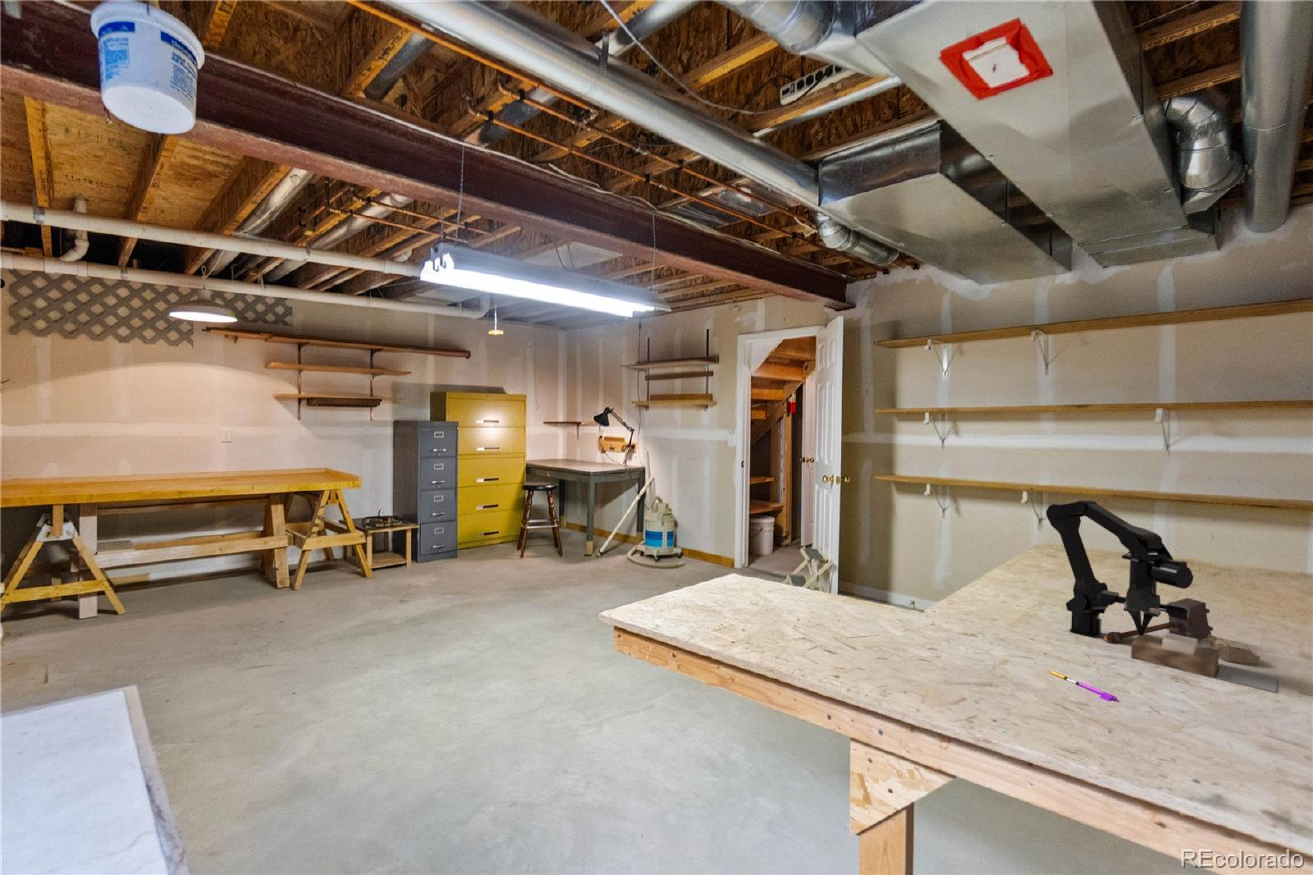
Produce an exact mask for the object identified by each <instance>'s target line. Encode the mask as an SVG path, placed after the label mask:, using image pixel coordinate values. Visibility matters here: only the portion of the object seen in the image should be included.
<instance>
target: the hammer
mask: <svg viewBox="0 0 1313 875" xmlns="http://www.w3.org/2000/svg"><path fill="white" fill-rule="evenodd" d="M1173 602H1174V603H1179V604H1185V605H1187V606H1188V607H1189V608H1190V614H1189V617H1188V619H1179V618H1174V617H1170V616H1169V615H1168V614H1167V612H1165V613H1166V614H1167V616H1168V620H1169V621H1168V622H1165V623H1161V624H1155V625H1152V626H1148V627H1147V629H1146V631H1145V633H1144V634H1149V633H1154V632H1158V631H1162V630H1168V633H1170V634H1175V635H1180V636H1185V637H1189V638H1194V639H1198V641H1201V640H1204V639H1207V637H1208V634H1211V635H1213V634H1212V631H1214V627H1213V626H1210V625H1209V621H1208V614H1209V613H1210V612H1211V611H1210V610H1211V609H1210V608H1207V604H1206V602H1204V601H1200V600H1197V599H1194V598H1193V599H1192V598H1190V597H1186V598H1183V599H1179V600H1176V601H1174V600H1173ZM1169 603H1170V602H1168V603H1166V604H1165V605H1168V604H1169ZM1138 635H1139V634H1138V631H1137V629H1134V630H1128V631H1124V632H1119V631H1110V632H1108V634H1106V635H1104V636H1103V641H1104V642H1113V643H1118V642H1120V641H1123V640H1124V639H1126V638H1131V637H1135V636H1136V637H1137V636H1138Z"/></svg>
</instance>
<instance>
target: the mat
mask: <svg viewBox="0 0 1313 875" xmlns="http://www.w3.org/2000/svg"><path fill="white" fill-rule="evenodd" d="M1216 679H1217V680H1221V681H1225V682H1229V683H1234V684H1238V685H1242V686H1245V687H1251V688H1254V689H1259V690H1262V691H1267V692H1270V693H1275V694H1276V693H1277V688H1278V686H1277V685H1278V677H1277V676H1273V675H1270V674H1269V675H1268V674H1264V673H1260V672H1254V671H1251V670H1246V669H1243V668H1238V667H1235V666H1234V667H1233V666H1230V665H1225V664H1220V667H1219V669H1218V673H1217V675H1216Z"/></svg>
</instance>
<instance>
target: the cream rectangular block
mask: <svg viewBox="0 0 1313 875" xmlns="http://www.w3.org/2000/svg"><path fill="white" fill-rule="evenodd" d="M1163 638H1164V639H1163V641H1162V648H1163V649H1167V650H1171V651H1176V652H1180V653H1185V654H1189V655H1194V653H1195V651H1196V649H1197V645H1198V639H1194V638H1189V637H1185V636H1180V635H1175V634H1170V633H1169V632H1167V633H1166V635H1165V636H1164V637H1163Z"/></svg>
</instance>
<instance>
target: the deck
mask: <svg viewBox="0 0 1313 875" xmlns="http://www.w3.org/2000/svg"><path fill="white" fill-rule="evenodd" d="M1164 638H1165V637H1161V636H1157V635H1151V634H1149V633H1146V634H1144V635H1143V636H1140V635H1137V636H1136V637H1135V639H1134V640H1133V641H1132V642H1131V649H1130V650H1131V655H1130V659H1134V660H1139V661H1142V662H1146V663H1151V664H1154V665H1158V666H1164V667H1166V668H1167V667H1168V668H1172V669H1176V670H1180V671H1185V672H1189V673H1191V674H1196V675H1200V676H1204V677H1208V678H1213V679H1214V678H1215V676H1216V673H1217V671H1218V667H1219V660H1220V659H1219V658H1220V657H1219V650H1217V649H1213V648H1210V647H1207V646H1204V645H1198V644H1197V649H1196V651H1195V653H1194V655H1189V654H1185V653H1180V652H1176V651H1171V650H1167V649H1163V648H1162V641H1163V639H1164Z"/></svg>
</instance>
